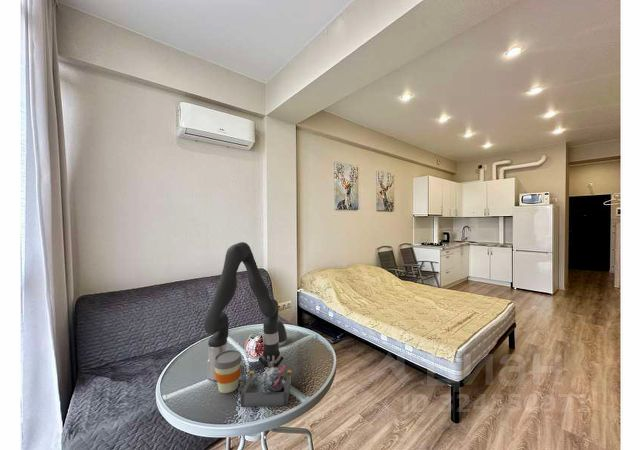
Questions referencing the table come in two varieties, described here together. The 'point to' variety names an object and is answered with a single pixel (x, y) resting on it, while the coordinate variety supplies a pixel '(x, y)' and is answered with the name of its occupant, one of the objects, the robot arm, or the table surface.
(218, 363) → the reusable coffee cup
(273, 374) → the brake caliper
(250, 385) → the cradle
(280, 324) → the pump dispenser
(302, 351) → the table surface
